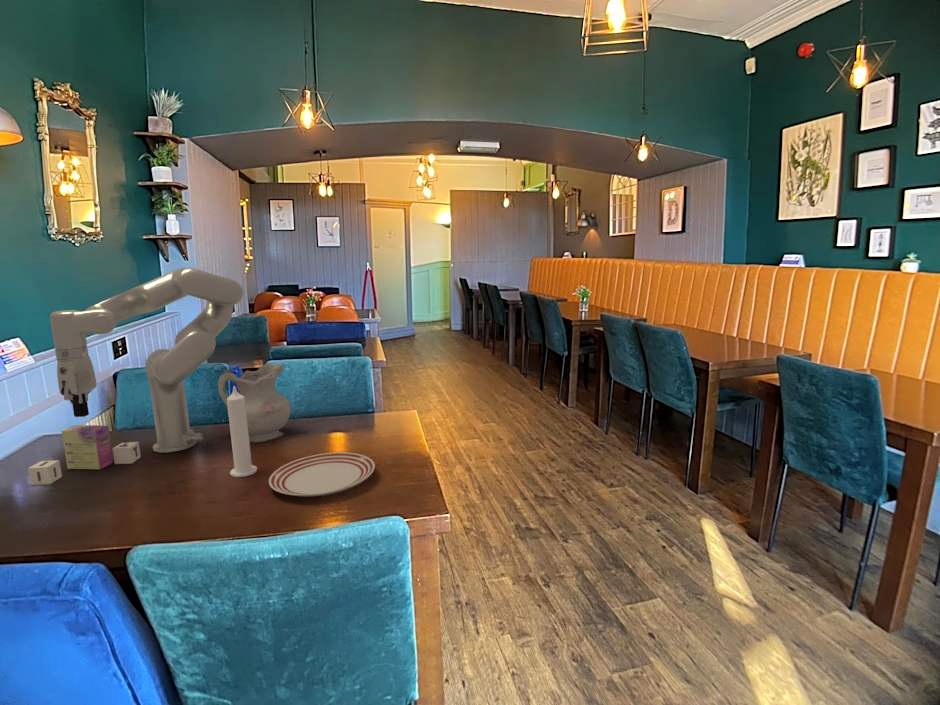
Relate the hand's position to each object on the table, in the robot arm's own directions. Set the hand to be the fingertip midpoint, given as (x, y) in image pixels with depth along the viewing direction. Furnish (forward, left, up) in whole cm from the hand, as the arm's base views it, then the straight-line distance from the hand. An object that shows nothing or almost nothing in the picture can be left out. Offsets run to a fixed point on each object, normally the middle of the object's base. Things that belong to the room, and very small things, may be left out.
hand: (81, 415), depth 161 cm
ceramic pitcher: (-43, -19, -16) cm, 50 cm away
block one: (+6, +10, -16) cm, 19 cm away
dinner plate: (-72, +20, -16) cm, 77 cm away
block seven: (-9, -3, -16) cm, 18 cm away
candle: (-48, +11, -16) cm, 52 cm away
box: (0, 0, -16) cm, 16 cm away
